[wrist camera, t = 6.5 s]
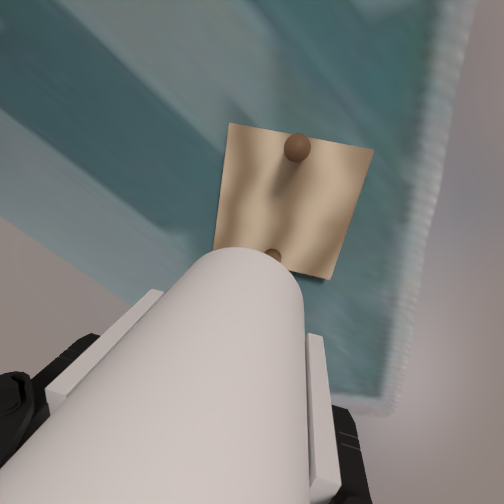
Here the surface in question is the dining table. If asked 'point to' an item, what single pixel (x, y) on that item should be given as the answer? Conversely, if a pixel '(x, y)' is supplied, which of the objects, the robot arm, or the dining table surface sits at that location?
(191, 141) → the dining table surface
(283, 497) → the cup
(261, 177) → the peg board
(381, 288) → the dining table surface
